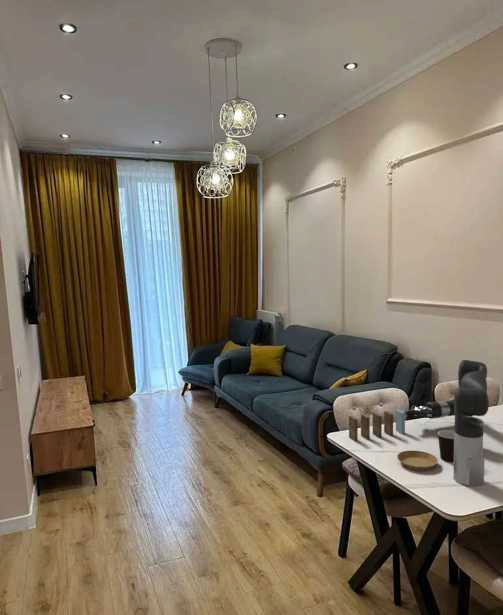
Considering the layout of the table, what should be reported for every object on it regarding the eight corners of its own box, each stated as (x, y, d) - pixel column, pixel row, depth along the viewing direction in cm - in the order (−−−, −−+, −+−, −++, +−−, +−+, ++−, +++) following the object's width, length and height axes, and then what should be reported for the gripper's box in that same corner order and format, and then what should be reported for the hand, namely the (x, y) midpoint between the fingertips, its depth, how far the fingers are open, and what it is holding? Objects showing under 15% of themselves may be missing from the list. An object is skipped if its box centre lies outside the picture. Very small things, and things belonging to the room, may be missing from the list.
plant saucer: (412, 476, 165) (412, 469, 165) (389, 459, 179) (389, 453, 179) (446, 469, 169) (446, 463, 169) (420, 454, 183) (420, 448, 183)
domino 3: (375, 433, 206) (375, 412, 205) (381, 437, 201) (381, 415, 200) (372, 433, 205) (372, 412, 204) (378, 437, 201) (378, 416, 200)
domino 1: (352, 436, 203) (352, 415, 202) (357, 440, 198) (357, 418, 197) (349, 437, 202) (348, 415, 201) (354, 441, 198) (354, 419, 197)
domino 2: (364, 435, 204) (364, 413, 203) (369, 439, 200) (369, 417, 199) (360, 435, 204) (360, 414, 203) (366, 439, 199) (366, 417, 198)
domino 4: (387, 431, 208) (387, 410, 207) (393, 435, 203) (393, 414, 202) (384, 432, 207) (384, 411, 206) (390, 436, 203) (390, 414, 202)
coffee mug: (447, 465, 172) (447, 439, 172) (432, 456, 181) (433, 431, 180) (472, 460, 176) (473, 436, 175) (457, 452, 184) (457, 428, 183)
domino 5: (398, 430, 209) (398, 409, 208) (404, 433, 205) (405, 412, 204) (395, 430, 209) (395, 409, 208) (401, 434, 204) (401, 412, 203)
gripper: (446, 422, 206) (415, 425, 201) (426, 413, 219) (397, 416, 213) (447, 406, 206) (416, 409, 200) (427, 398, 218) (397, 401, 213)
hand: (406, 413), depth 207 cm, fingers closed
